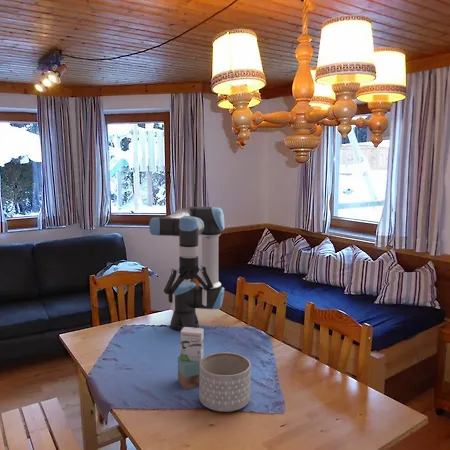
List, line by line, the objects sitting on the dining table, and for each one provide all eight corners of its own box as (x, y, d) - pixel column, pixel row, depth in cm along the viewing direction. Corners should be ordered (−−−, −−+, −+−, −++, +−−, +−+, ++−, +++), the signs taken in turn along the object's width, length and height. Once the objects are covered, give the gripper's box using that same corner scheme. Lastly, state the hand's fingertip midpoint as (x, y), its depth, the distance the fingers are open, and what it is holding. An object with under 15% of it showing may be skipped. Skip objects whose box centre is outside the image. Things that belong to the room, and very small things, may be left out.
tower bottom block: (196, 376, 173) (196, 364, 172) (204, 385, 165) (204, 373, 165) (178, 380, 169) (178, 368, 169) (184, 389, 162) (184, 377, 161)
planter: (210, 383, 167) (210, 349, 165) (255, 392, 160) (256, 357, 158) (190, 408, 149) (190, 370, 147) (240, 420, 143) (241, 380, 141)
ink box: (179, 360, 165) (179, 331, 163) (182, 354, 169) (182, 326, 168) (201, 362, 163) (201, 332, 162) (203, 356, 168) (204, 328, 167)
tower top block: (196, 364, 172) (196, 353, 171) (203, 373, 165) (203, 361, 164) (177, 368, 169) (177, 356, 168) (184, 377, 161) (184, 365, 161)
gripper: (213, 251, 175) (213, 300, 179) (155, 256, 164) (156, 309, 167) (221, 255, 169) (220, 305, 172) (161, 261, 157) (162, 315, 161)
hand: (188, 307), depth 170 cm, fingers open, 13 cm apart
